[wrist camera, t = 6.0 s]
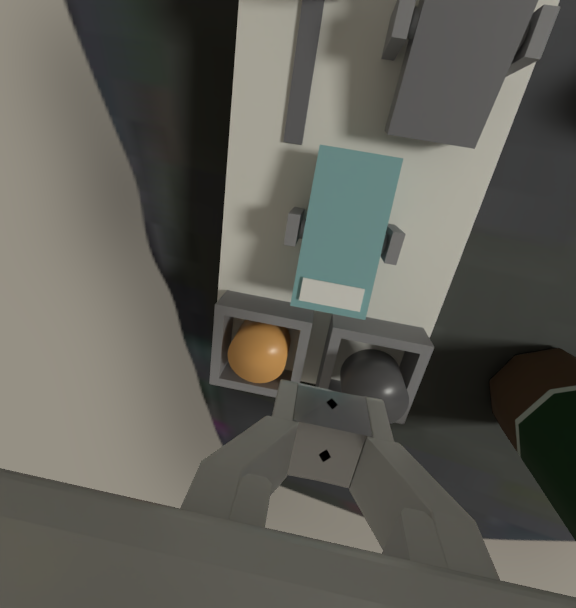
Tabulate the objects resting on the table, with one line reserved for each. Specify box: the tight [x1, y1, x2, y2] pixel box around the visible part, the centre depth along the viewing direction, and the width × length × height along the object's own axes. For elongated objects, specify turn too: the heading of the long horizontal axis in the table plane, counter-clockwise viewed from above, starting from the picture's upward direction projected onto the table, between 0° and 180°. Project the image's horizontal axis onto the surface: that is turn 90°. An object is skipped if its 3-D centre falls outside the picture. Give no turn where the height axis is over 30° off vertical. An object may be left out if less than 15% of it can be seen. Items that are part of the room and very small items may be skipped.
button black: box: [340, 349, 409, 424], centre depth 19 cm, size 4×4×2 cm
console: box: [209, 0, 560, 424], centre depth 18 cm, size 28×14×7 cm, turn 171°
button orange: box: [228, 320, 291, 383], centre depth 21 cm, size 4×4×2 cm
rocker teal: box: [290, 145, 403, 320], centre depth 17 cm, size 8×4×2 cm, turn 171°
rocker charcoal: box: [384, 0, 538, 149], centre depth 13 cm, size 8×4×2 cm, turn 171°
